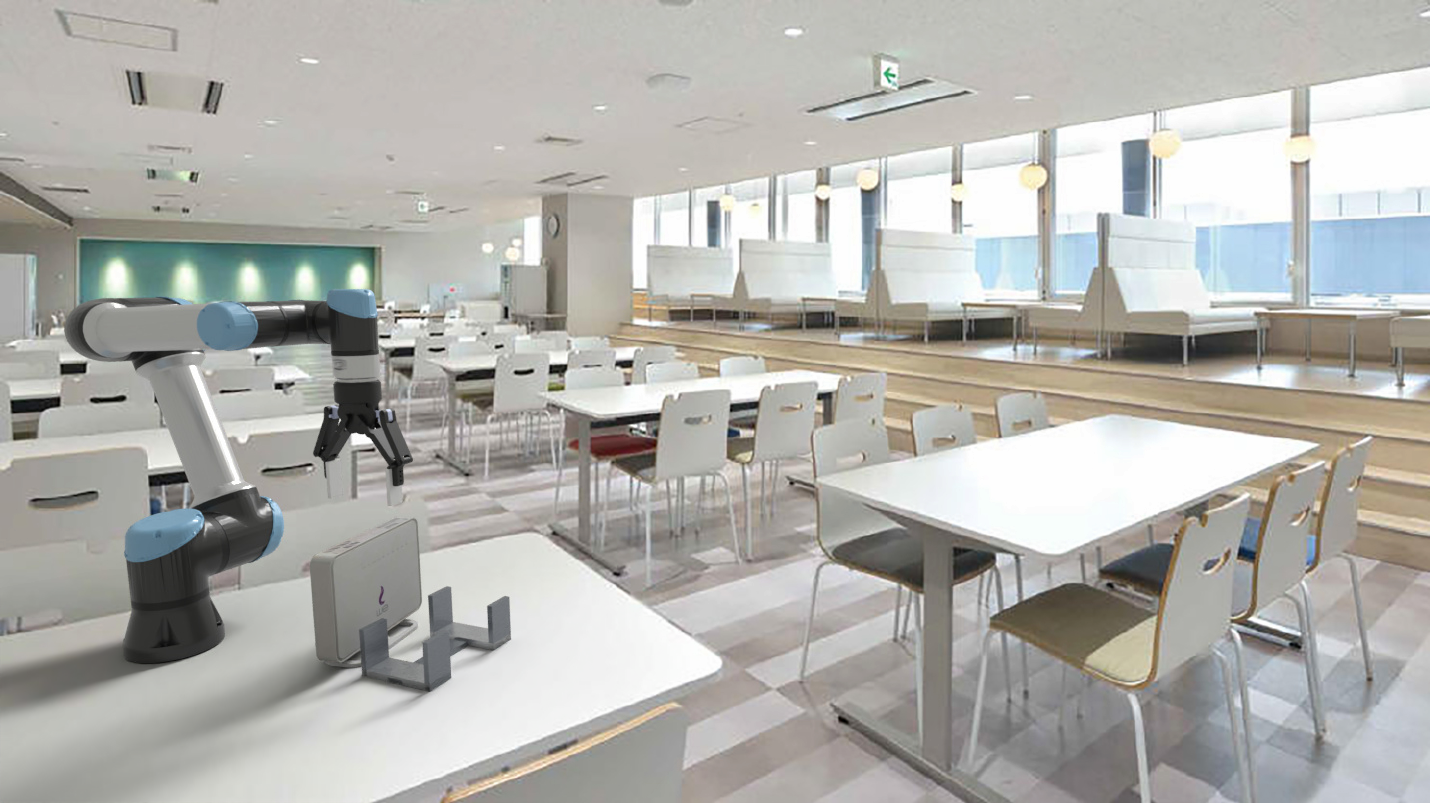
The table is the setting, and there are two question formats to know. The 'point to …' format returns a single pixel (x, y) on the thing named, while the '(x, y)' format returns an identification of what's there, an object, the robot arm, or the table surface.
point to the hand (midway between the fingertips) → (364, 500)
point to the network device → (365, 588)
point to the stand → (432, 643)
